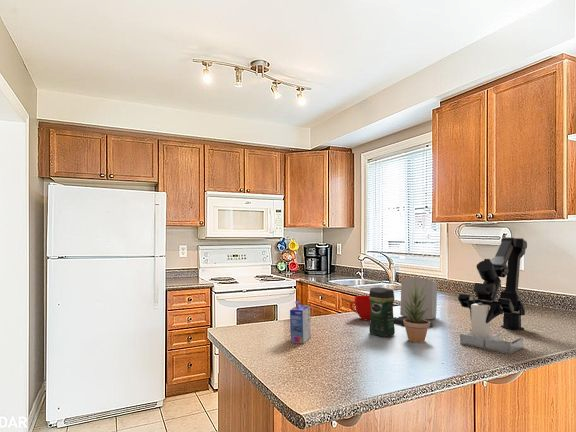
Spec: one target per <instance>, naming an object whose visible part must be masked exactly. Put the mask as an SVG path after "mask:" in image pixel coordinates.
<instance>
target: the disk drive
mask: <svg viewBox="0 0 576 432" xmlns="http://www.w3.org/2000/svg"><path fill="white" fill-rule="evenodd" d="M407 317H408V318H409V316H407ZM407 317H406V316H402V315H401V316H398V317H396V316H395V317H394V316H393V318H394V325H395V324H396V325H398V326H403V327H405V325H404V323H403V320H404V319H408V318H407ZM428 321H429V320H428ZM429 322H430V327H429V328H433V325H434V324H433V322H432V321H429ZM429 328H428V329H429Z"/></svg>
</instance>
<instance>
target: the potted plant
mask: <svg viewBox="0 0 576 432" xmlns="http://www.w3.org/2000/svg"><path fill="white" fill-rule="evenodd" d="M414 277H415V281H414V286H415V297H414V294H413V292H412V289H411V286H410V292H411V297H410V295H409V293H408V297H409V300H410V303H411V305H409V304H408V303H407V302H406V301H405V303H406V304H407V306H408V307H409V309H410V310H409V309H408V308H407V307H406V305H405V304H404V305H405V308H406V310H407V311H406V310H405V312H406V313H407V314H408V315H409V318H408V317H407V316H406V317H407V318H408V319H404V320H403V323H404V325H405V326H404V327H405V332H406V335H407V339H408V341H410V342H412V343H424V342H425V341H426V337H427V335H428V334H427V333H428V331H429V327H430V322H431V321H430V322H429V320H428V319H423V318H424V317H423V318H421V317H422V316H423V315H424V313H425V312H426V311H427V310H428V309H429V308H428V309H426V310H425V311H424V310H422V311H420V309H421V308H422V306H423V304H424V302H425V297H426V295H425V297H424V298H423V299H422V300H420V299H421V296H422V294H423V292H424V289H425V287H426V284H427V280H426V283H425V285H424V287H423V289H422V291H420V293H419V295H418V287H417V289H416V277H417V276H416V275H414ZM420 318H421V319H420ZM430 328H431V327H430Z"/></svg>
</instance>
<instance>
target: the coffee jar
mask: <svg viewBox="0 0 576 432" xmlns="http://www.w3.org/2000/svg"><path fill="white" fill-rule="evenodd" d="M368 296H369V299H370V303H371V313H370V321H369V331H368V332H369V333H370V334H371V335H374V336H377V337H383V338H384V337H388V338H389V337H392V336H394V335H395V332H396V330H395V329H396V328H395V323H394V302H395V293H394V290H393V289H392V288H385V287H379V286H378V287H372V288H370V290H369V295H368Z"/></svg>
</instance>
